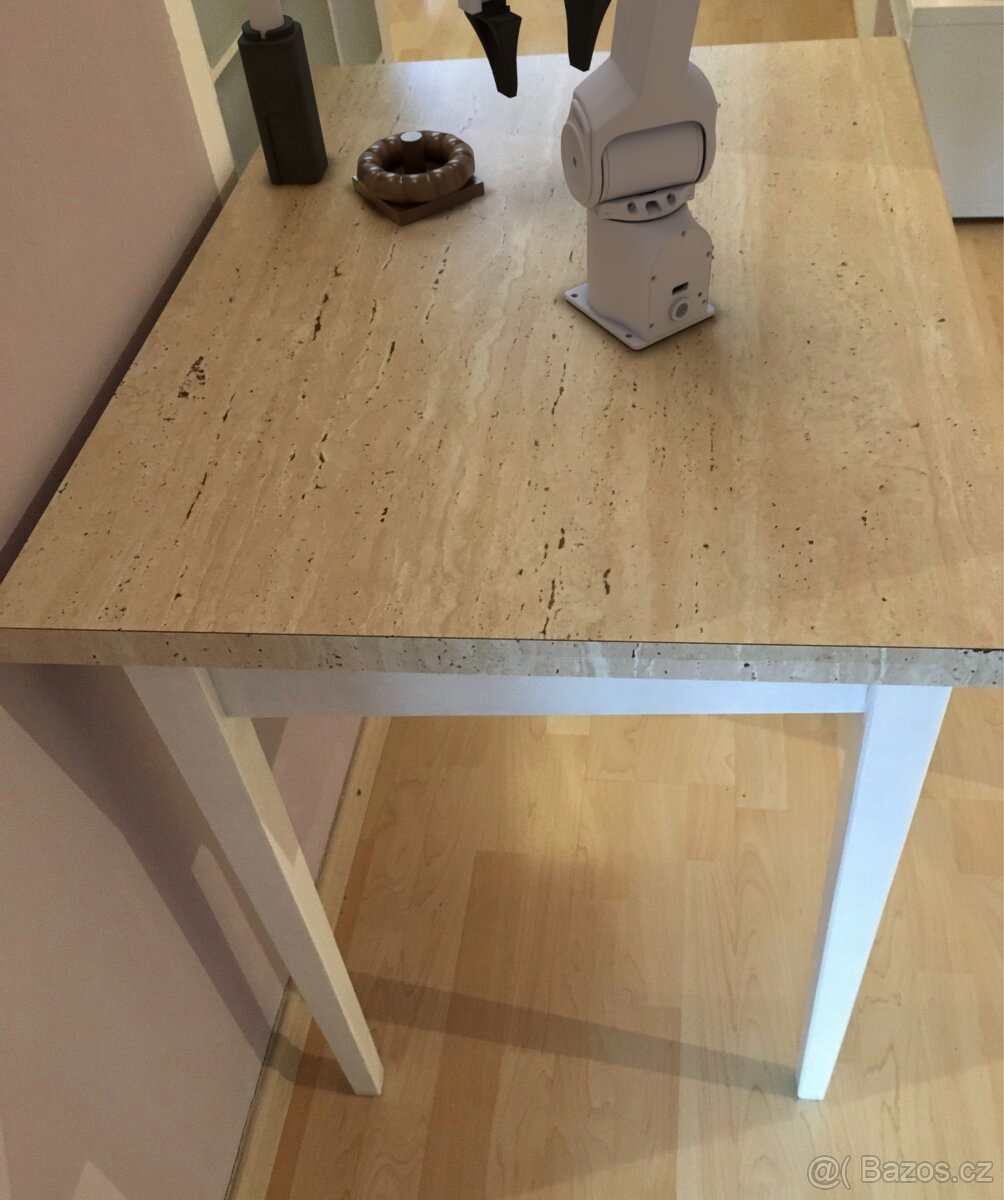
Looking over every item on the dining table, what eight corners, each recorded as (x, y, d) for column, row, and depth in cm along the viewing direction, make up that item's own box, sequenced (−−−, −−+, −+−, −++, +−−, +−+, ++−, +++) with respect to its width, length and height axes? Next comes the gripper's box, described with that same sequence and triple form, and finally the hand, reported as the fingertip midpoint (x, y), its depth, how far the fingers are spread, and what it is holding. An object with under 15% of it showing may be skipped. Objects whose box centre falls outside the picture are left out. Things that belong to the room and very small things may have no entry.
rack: (484, 194, 97) (480, 138, 93) (400, 226, 94) (392, 170, 90) (434, 158, 102) (428, 104, 98) (353, 188, 99) (343, 134, 95)
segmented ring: (498, 181, 96) (496, 156, 94) (395, 221, 92) (391, 195, 91) (437, 140, 102) (434, 115, 100) (339, 175, 99) (334, 150, 97)
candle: (330, 158, 104) (272, -144, 85) (319, 184, 100) (256, -125, 82) (280, 159, 104) (211, -141, 85) (267, 185, 101) (193, -122, 82)
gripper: (582, -135, 85) (584, 43, 95) (429, -93, 80) (447, 90, 90) (637, -118, 81) (632, 67, 91) (479, -72, 76) (492, 117, 86)
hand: (543, 80), depth 90 cm, fingers open, 7 cm apart
